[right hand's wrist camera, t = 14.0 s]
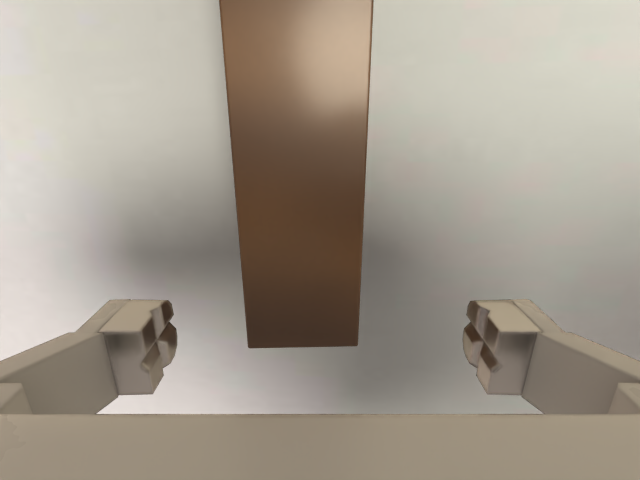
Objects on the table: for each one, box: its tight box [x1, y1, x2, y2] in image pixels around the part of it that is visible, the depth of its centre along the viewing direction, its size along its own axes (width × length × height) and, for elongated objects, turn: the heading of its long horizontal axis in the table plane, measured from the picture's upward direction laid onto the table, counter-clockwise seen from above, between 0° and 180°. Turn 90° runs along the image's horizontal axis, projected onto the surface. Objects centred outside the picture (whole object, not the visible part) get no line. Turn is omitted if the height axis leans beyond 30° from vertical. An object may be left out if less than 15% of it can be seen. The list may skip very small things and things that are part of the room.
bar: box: [219, 0, 373, 348], centre depth 15 cm, size 24×4×9 cm, turn 0°
